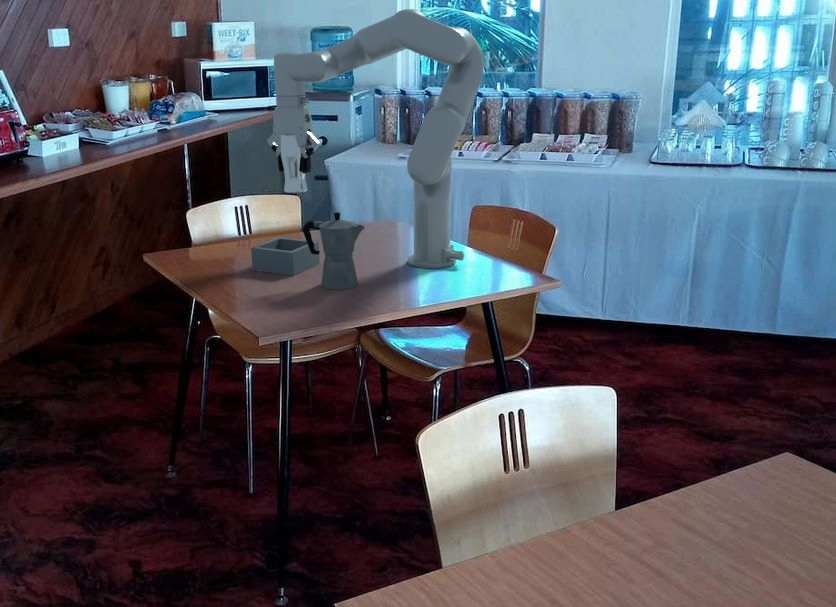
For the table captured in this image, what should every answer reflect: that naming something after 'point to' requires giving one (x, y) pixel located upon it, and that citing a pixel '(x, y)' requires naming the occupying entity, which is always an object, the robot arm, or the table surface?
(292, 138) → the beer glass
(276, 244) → the grey open box
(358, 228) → the coffeepot
